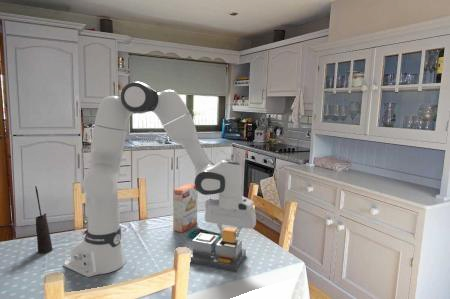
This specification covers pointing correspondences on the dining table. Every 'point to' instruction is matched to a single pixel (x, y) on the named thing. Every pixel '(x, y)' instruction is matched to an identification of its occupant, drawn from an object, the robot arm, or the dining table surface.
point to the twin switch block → (217, 253)
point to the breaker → (206, 238)
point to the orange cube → (229, 235)
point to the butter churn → (42, 231)
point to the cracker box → (184, 207)
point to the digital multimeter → (197, 231)
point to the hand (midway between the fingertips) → (229, 235)
